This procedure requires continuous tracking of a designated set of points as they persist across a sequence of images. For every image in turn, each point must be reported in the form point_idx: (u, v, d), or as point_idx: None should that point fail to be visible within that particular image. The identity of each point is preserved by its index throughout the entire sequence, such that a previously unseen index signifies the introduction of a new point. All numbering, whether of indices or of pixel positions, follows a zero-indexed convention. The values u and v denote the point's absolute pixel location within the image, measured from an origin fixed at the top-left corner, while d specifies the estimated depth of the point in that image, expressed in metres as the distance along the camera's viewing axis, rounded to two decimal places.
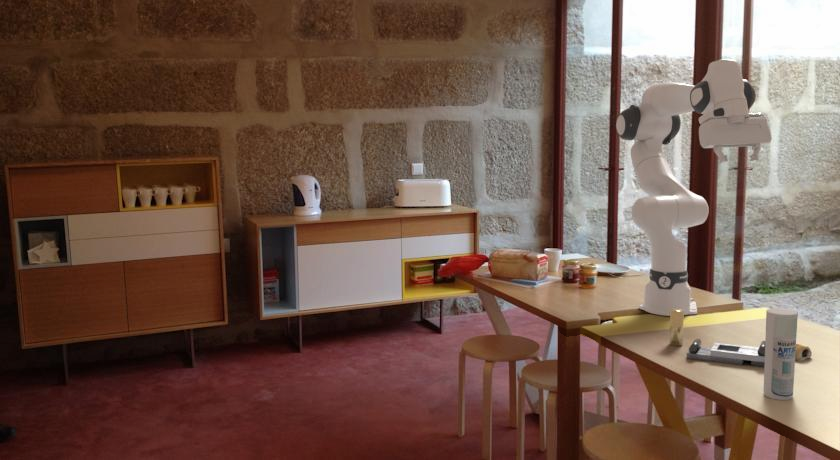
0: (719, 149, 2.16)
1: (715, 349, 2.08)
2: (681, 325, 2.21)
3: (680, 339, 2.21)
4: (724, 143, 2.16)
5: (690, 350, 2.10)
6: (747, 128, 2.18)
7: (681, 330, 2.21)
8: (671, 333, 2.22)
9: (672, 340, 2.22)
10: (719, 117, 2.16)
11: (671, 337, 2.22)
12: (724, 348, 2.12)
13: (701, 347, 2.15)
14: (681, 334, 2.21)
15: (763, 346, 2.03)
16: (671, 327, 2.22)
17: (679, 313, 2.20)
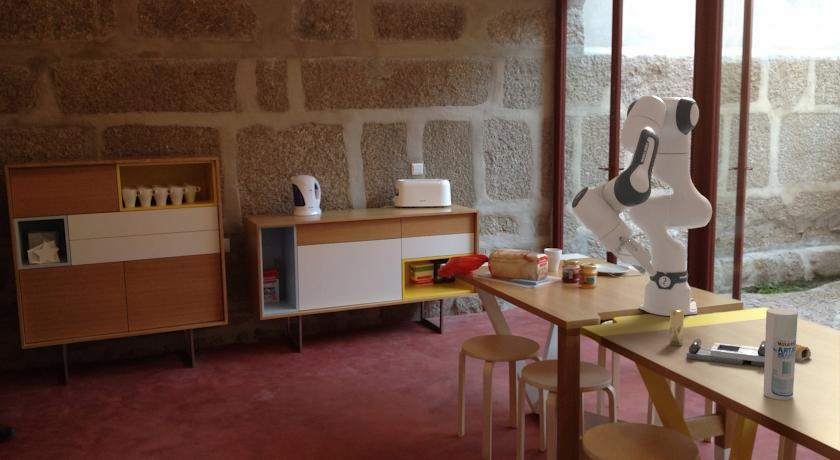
0: (632, 265, 2.26)
1: (715, 349, 2.08)
2: (681, 325, 2.21)
3: (680, 339, 2.21)
4: (628, 263, 2.25)
5: (690, 350, 2.10)
6: (626, 254, 2.17)
7: (681, 330, 2.21)
8: (671, 333, 2.22)
9: (672, 340, 2.22)
10: None
11: (671, 337, 2.22)
12: (724, 348, 2.12)
13: (701, 347, 2.15)
14: (681, 334, 2.21)
15: (763, 346, 2.03)
16: (671, 327, 2.22)
17: (679, 313, 2.20)
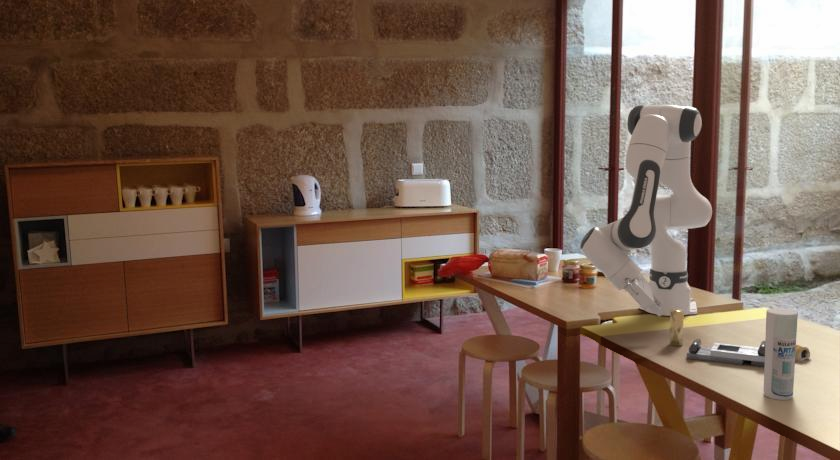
0: None
1: (715, 349, 2.08)
2: (681, 325, 2.21)
3: (680, 339, 2.21)
4: None
5: (690, 350, 2.10)
6: None
7: (681, 330, 2.21)
8: (671, 333, 2.22)
9: (672, 340, 2.22)
10: None
11: (671, 337, 2.22)
12: (724, 348, 2.12)
13: (701, 347, 2.15)
14: (681, 334, 2.21)
15: (763, 346, 2.03)
16: (671, 327, 2.22)
17: (679, 313, 2.20)
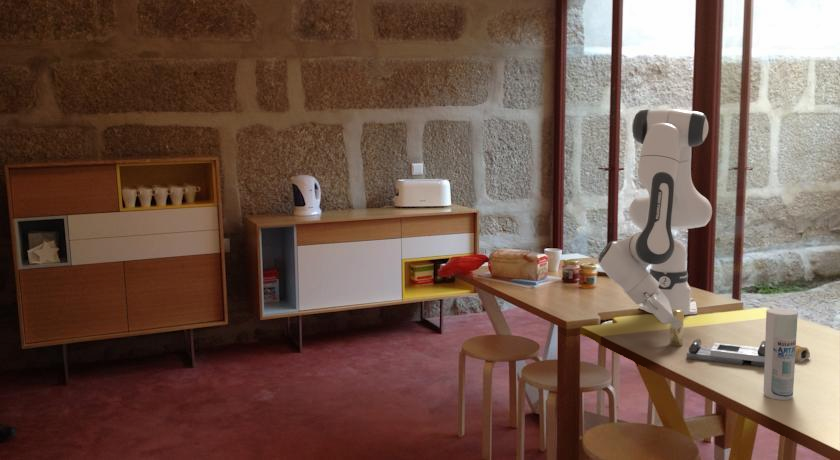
0: None
1: (715, 349, 2.08)
2: None
3: (680, 339, 2.21)
4: None
5: (690, 350, 2.10)
6: None
7: (681, 330, 2.21)
8: (671, 333, 2.22)
9: (672, 340, 2.22)
10: None
11: (671, 337, 2.22)
12: (724, 348, 2.12)
13: (701, 347, 2.15)
14: (681, 334, 2.21)
15: (763, 346, 2.03)
16: (671, 327, 2.22)
17: (679, 313, 2.20)
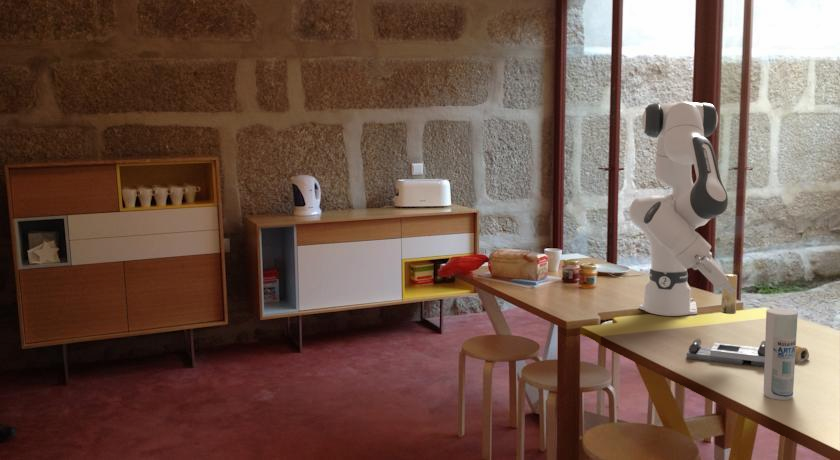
0: None
1: (715, 349, 2.08)
2: None
3: (733, 306, 2.06)
4: None
5: (690, 350, 2.10)
6: None
7: (734, 296, 2.05)
8: (723, 300, 2.06)
9: (724, 307, 2.06)
10: None
11: (724, 305, 2.06)
12: (724, 348, 2.12)
13: (701, 347, 2.15)
14: (734, 301, 2.06)
15: (763, 346, 2.03)
16: (723, 293, 2.06)
17: (732, 278, 2.05)
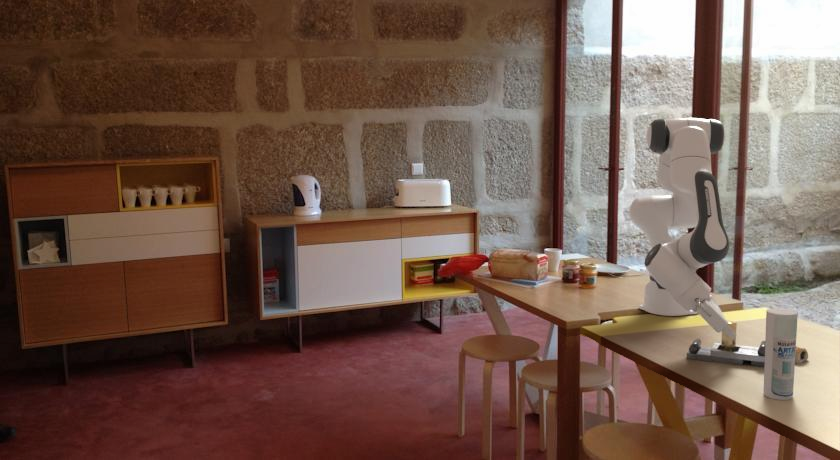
0: None
1: (715, 349, 2.08)
2: (734, 338, 2.07)
3: None
4: None
5: (690, 350, 2.10)
6: None
7: (734, 344, 2.07)
8: (723, 347, 2.08)
9: None
10: None
11: None
12: None
13: (701, 347, 2.15)
14: (734, 348, 2.07)
15: (763, 346, 2.03)
16: (723, 340, 2.08)
17: (732, 326, 2.06)
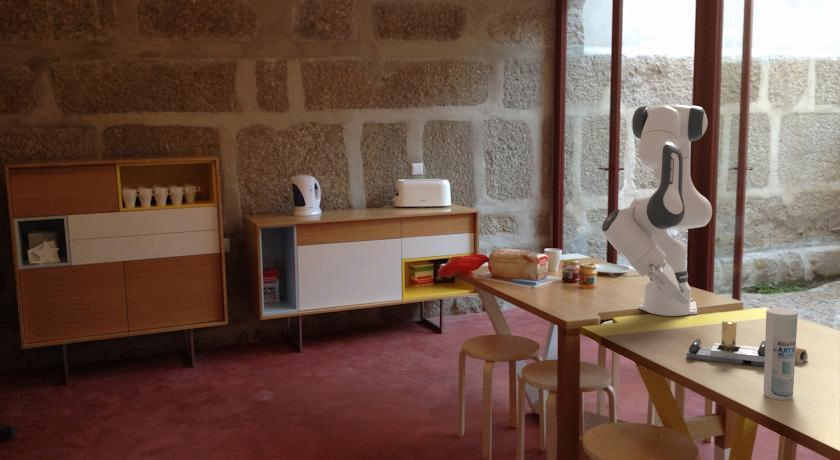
0: None
1: (715, 349, 2.08)
2: (734, 338, 2.07)
3: None
4: None
5: (690, 350, 2.10)
6: None
7: (734, 344, 2.07)
8: (723, 347, 2.08)
9: None
10: None
11: None
12: None
13: (701, 347, 2.15)
14: (734, 348, 2.07)
15: (763, 346, 2.03)
16: (723, 340, 2.08)
17: (732, 326, 2.06)
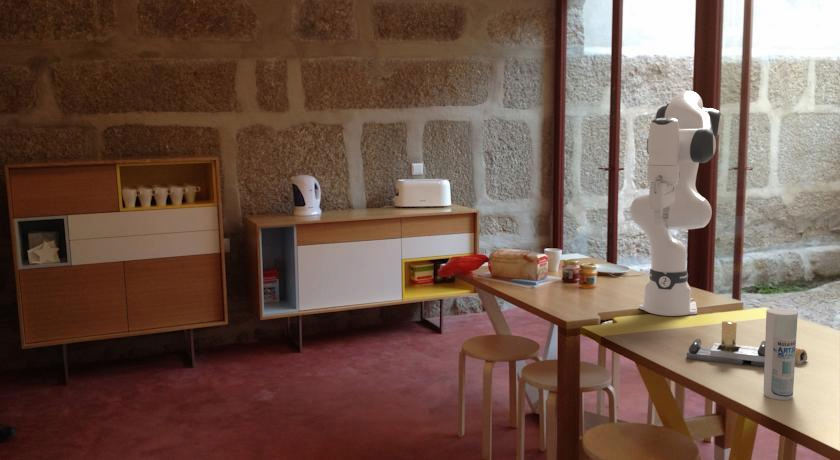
0: None
1: (715, 349, 2.08)
2: (734, 338, 2.07)
3: None
4: None
5: (690, 350, 2.10)
6: None
7: (734, 344, 2.07)
8: (723, 347, 2.08)
9: None
10: None
11: None
12: None
13: (701, 347, 2.15)
14: (734, 348, 2.07)
15: (763, 346, 2.03)
16: (723, 340, 2.08)
17: (732, 326, 2.06)
